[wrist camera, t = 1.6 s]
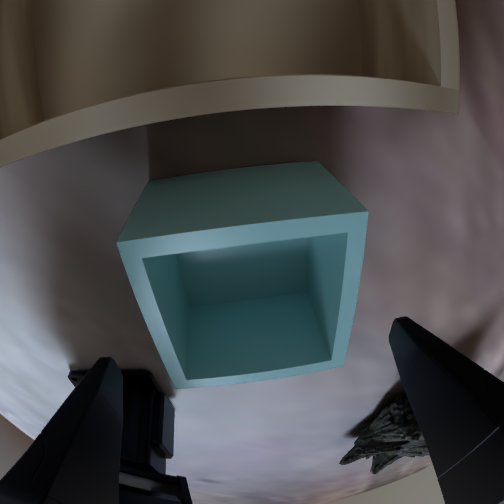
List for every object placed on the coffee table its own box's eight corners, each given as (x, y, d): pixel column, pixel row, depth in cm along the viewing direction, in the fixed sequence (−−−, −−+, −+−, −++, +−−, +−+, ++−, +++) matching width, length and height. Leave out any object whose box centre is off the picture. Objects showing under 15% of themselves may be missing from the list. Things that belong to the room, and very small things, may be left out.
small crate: (181, 308, 16) (175, 388, 12) (148, 181, 12) (116, 242, 8) (314, 291, 16) (343, 365, 12) (317, 160, 13) (368, 211, 8)
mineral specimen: (364, 441, 18) (440, 515, 13) (455, 332, 23) (516, 399, 18) (321, 449, 30) (373, 502, 25) (393, 380, 34) (440, 428, 30)
